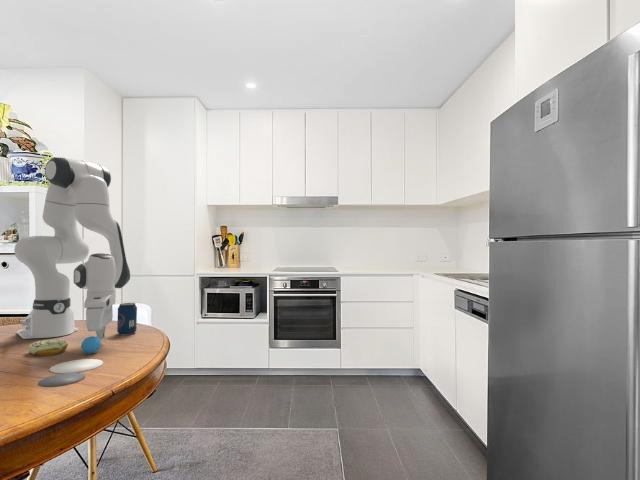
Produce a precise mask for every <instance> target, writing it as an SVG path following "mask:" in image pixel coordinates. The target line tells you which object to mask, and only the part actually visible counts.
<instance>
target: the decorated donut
mask: <svg viewBox="0 0 640 480" xmlns="http://www.w3.org/2000/svg"><path fill="white" fill-rule="evenodd" d="M68 343H69V342H68V341H67V340H66V339H60V338H58V339H57V338H51V339H44V340H38V341H34V342H33V343H31V344H29V345H28V351H29V353H30V354H31V355H32V356H36V357H50V356H54V355H58V354H62V353H63V352H65V351H66V350H67V349H68V346H69V344H68Z"/></svg>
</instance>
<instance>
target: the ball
mask: <svg viewBox="0 0 640 480" xmlns="http://www.w3.org/2000/svg"><path fill="white" fill-rule="evenodd" d="M101 346H102V340H100V339H99V338H97V336H94V335H93V336H92V335H91V336H88V337H86V338H84V339H83V340H82V342H81V345H80V347H81V348H80V349H81V351H82V352H84V354H89V355H92V354H94V353H97V352H98V351H99V350H100V348H101Z"/></svg>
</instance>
